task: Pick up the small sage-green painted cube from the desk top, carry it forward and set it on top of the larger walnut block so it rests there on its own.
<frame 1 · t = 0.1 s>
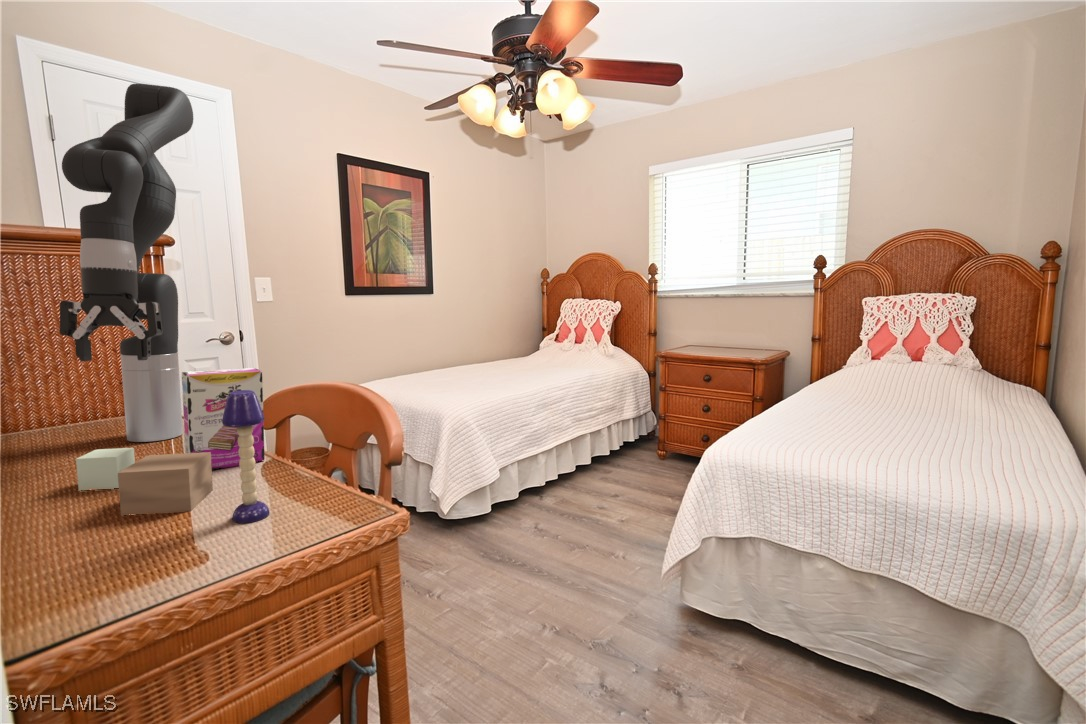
hand: (114, 360, 91), 17 cm above the table, tool pointing down, fingers open, 8 cm apart
walnut block: (170, 503, 72), on the table
sage block: (108, 485, 78), on the table
candy bar box: (227, 465, 88), on the table
toy lamp: (248, 518, 67), on the table
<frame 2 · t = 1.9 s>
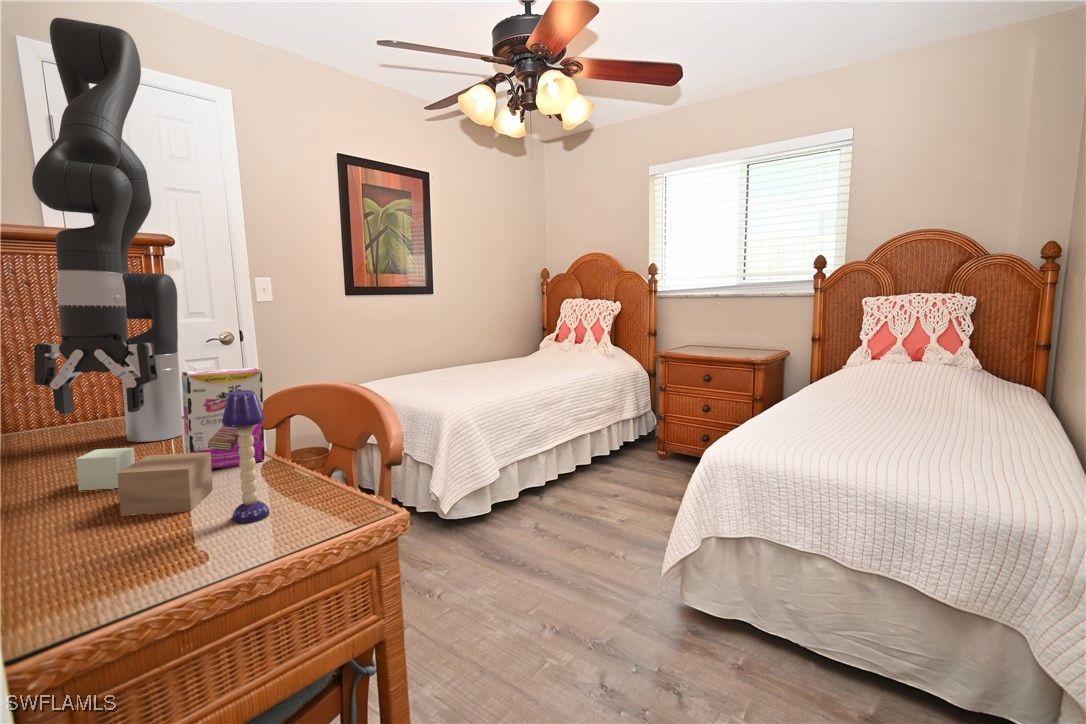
hand: (100, 412, 77), 11 cm above the table, tool pointing down, fingers open, 8 cm apart
nothing on the table moved.
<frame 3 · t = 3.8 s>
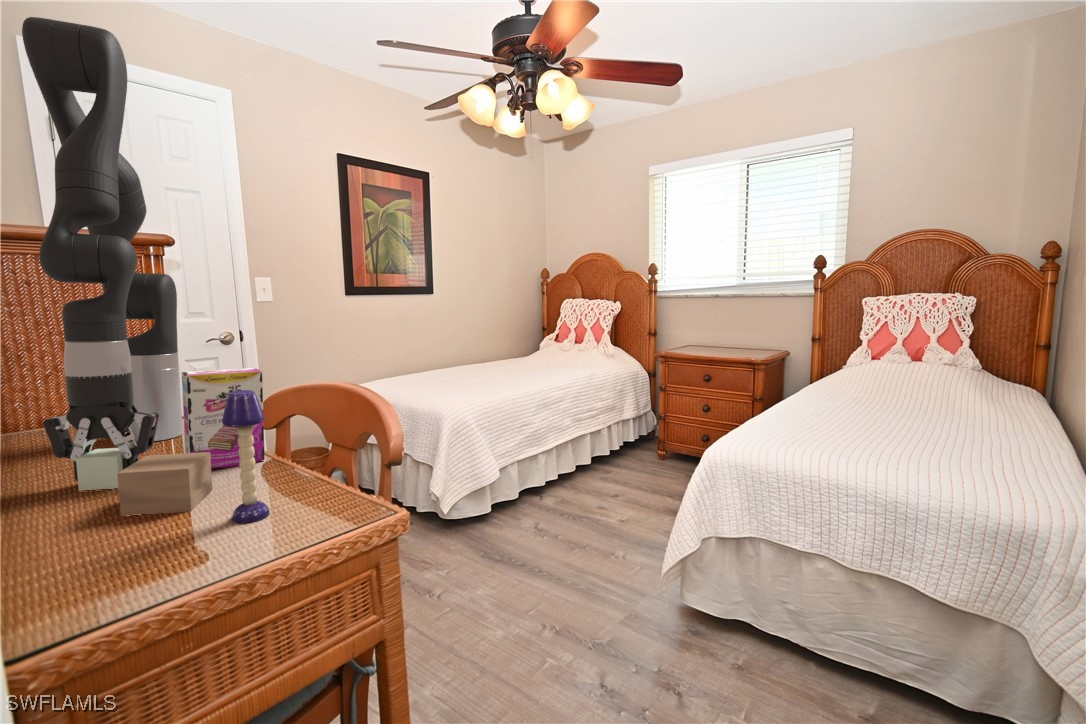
hand: (108, 481, 78), 0 cm above the table, tool pointing down, fingers closed on sage block, 5 cm apart
sage block: (108, 484, 78), on the table, touching gripper
everything else where it was.
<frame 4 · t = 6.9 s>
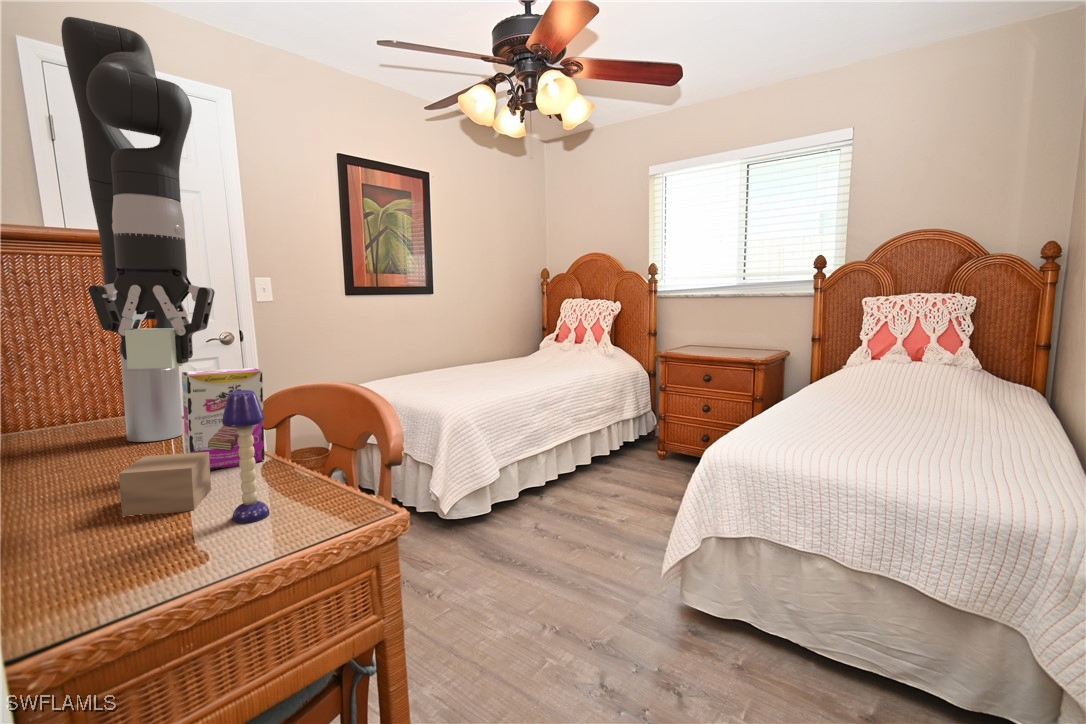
hand: (158, 362, 69), 20 cm above the table, tool pointing down, fingers closed on sage block, 5 cm apart
sage block: (159, 366, 69), point 19 cm above the table, touching gripper
everything else where it was.
when the fingers open (7 cm above the table, at t = 10.0 s): sage block drops 1 cm, resting on walnut block.
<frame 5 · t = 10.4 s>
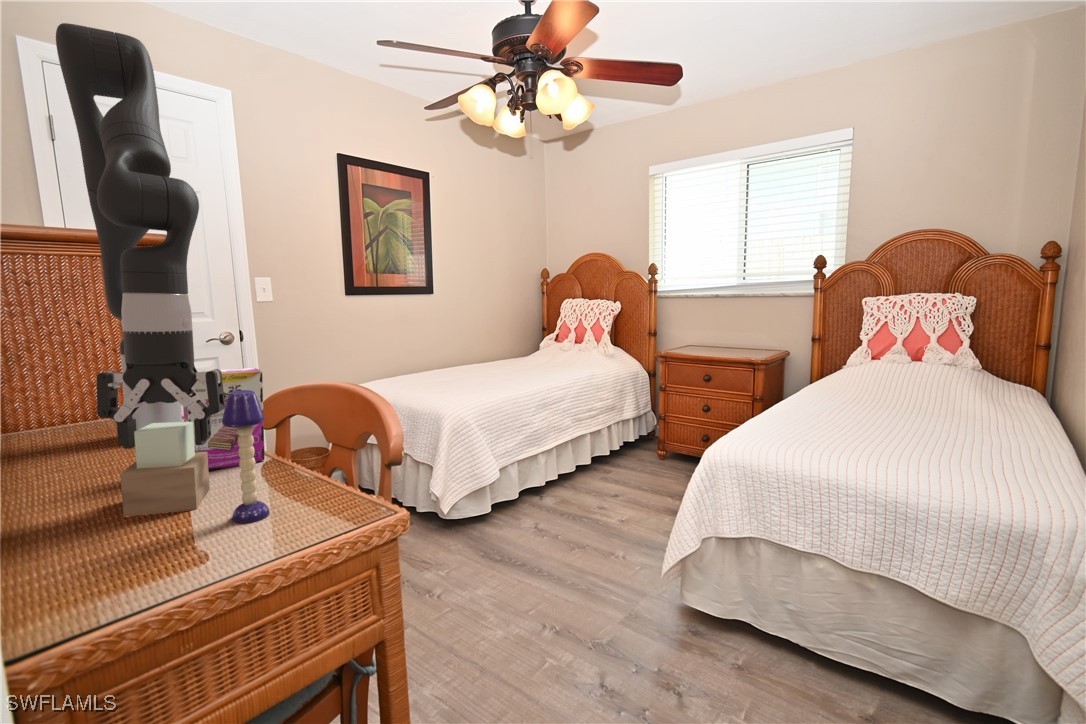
hand: (166, 445, 71), 8 cm above the table, tool pointing down, fingers open, 8 cm apart
walnut block: (169, 503, 71), on the table, touching sage block
sage block: (167, 461, 71), point 6 cm above the table, touching walnut block
everything else where it was.
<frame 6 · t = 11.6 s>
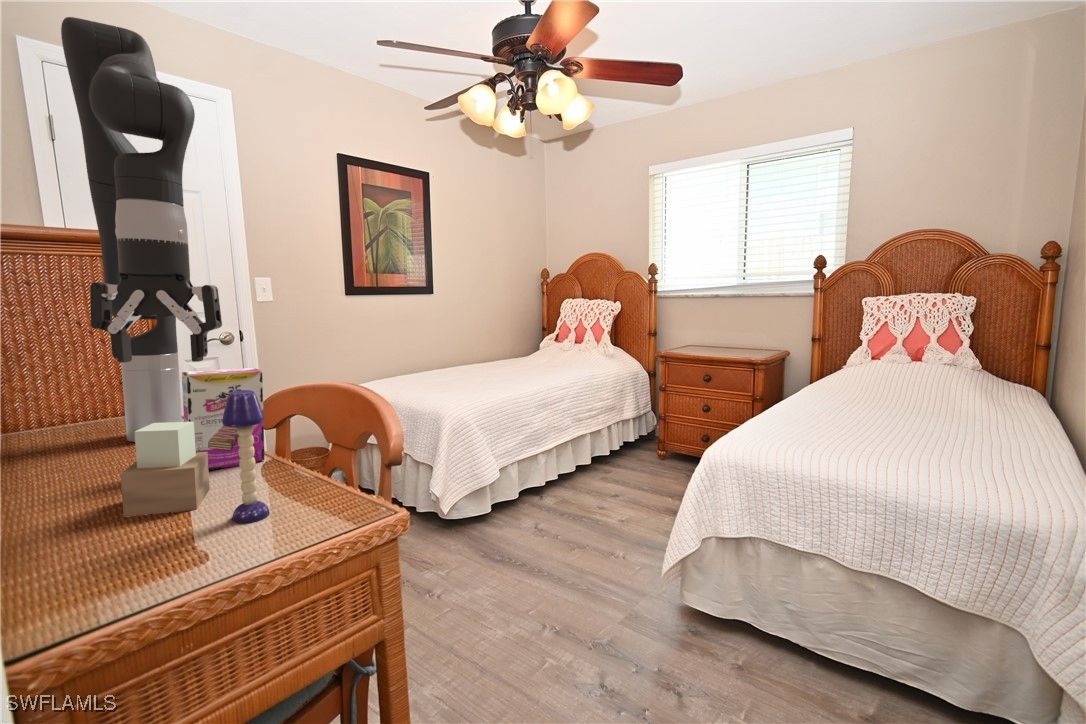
hand: (161, 361, 69), 20 cm above the table, tool pointing down, fingers open, 8 cm apart
nothing on the table moved.
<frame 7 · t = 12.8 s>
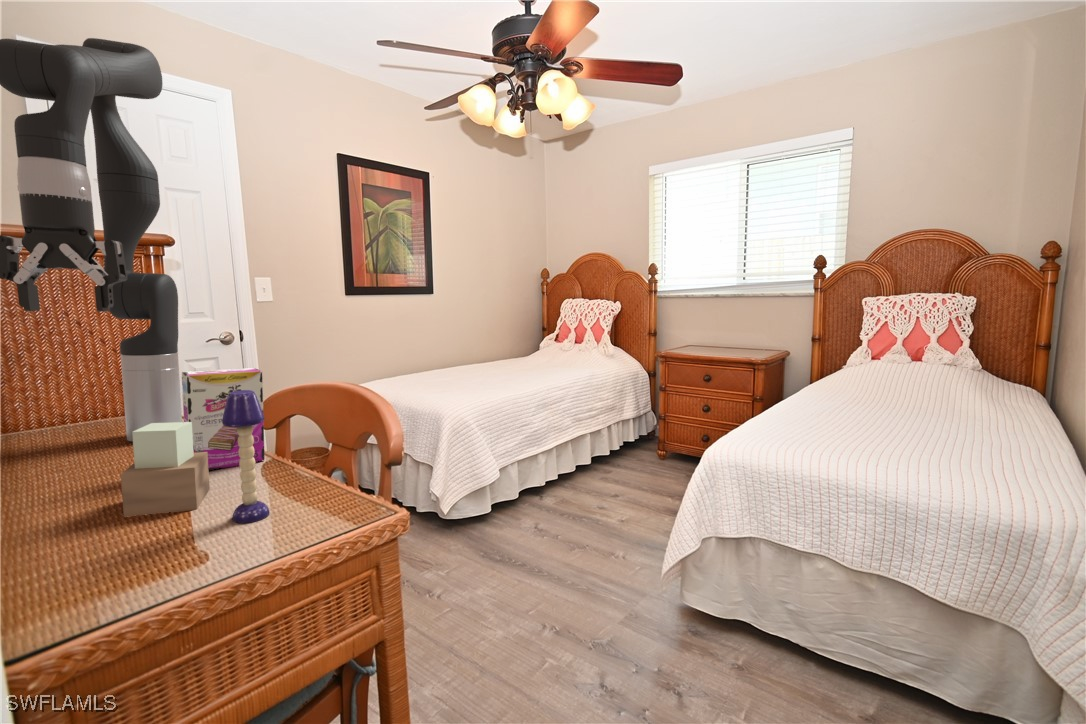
hand: (68, 311, 75), 26 cm above the table, tool pointing down, fingers open, 8 cm apart
nothing on the table moved.
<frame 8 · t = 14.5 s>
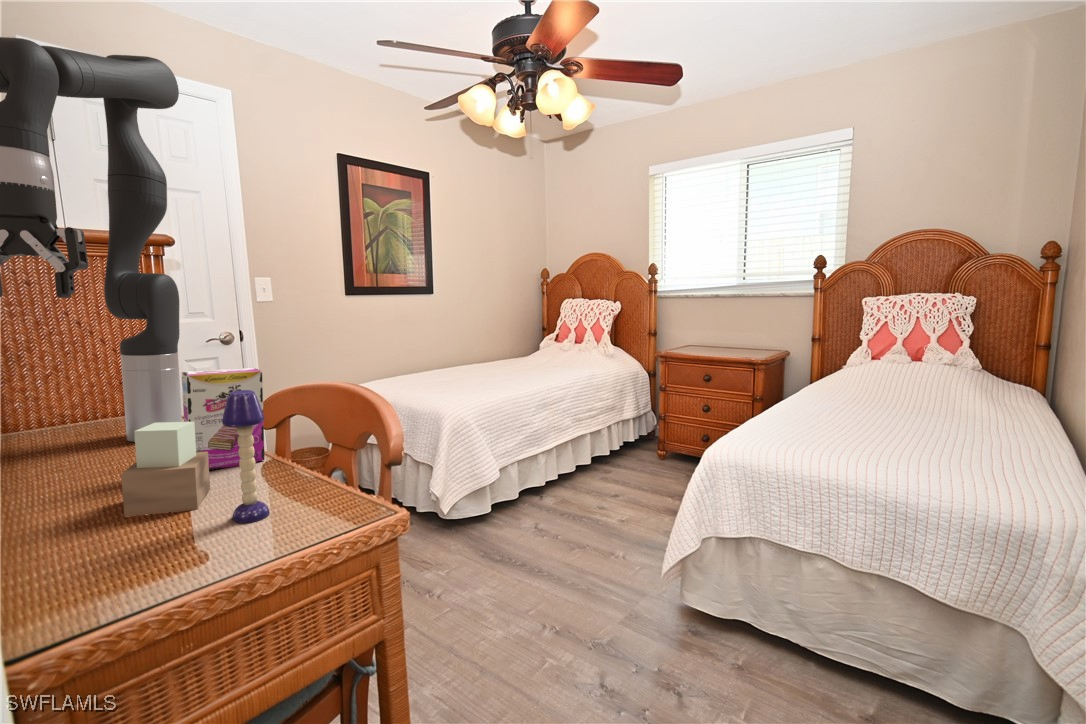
hand: (29, 297, 76), 28 cm above the table, tool pointing down, fingers open, 8 cm apart
walnut block: (170, 503, 71), on the table
sage block: (167, 461, 71), point 6 cm above the table
everything else where it was.
at the end: sage block inside the target area on the walnut block (0.0 cm from its centre), point 6.0 cm above the walnut block's base; sage block tilted 0°; the gripper is holding nothing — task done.
